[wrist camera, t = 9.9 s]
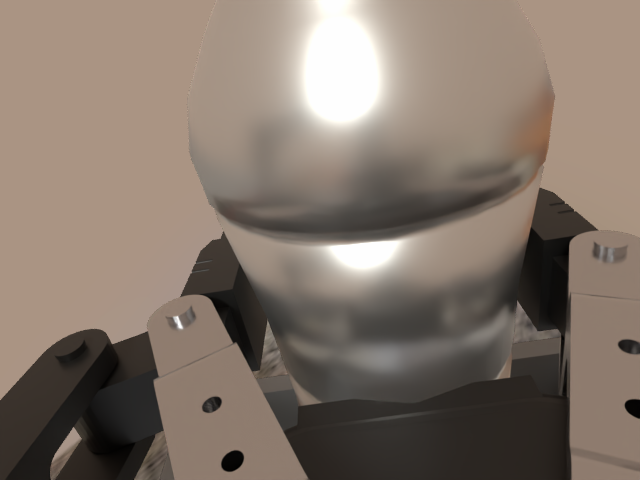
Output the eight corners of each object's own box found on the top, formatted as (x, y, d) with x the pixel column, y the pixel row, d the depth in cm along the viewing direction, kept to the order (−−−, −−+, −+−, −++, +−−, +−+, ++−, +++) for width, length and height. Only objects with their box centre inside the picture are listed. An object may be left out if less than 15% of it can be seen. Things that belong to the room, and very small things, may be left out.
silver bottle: (528, 712, 11) (708, -900, 2) (292, 613, 14) (-88, -270, 5) (529, 479, 17) (584, -296, 7) (355, 439, 19) (228, -157, 10)
